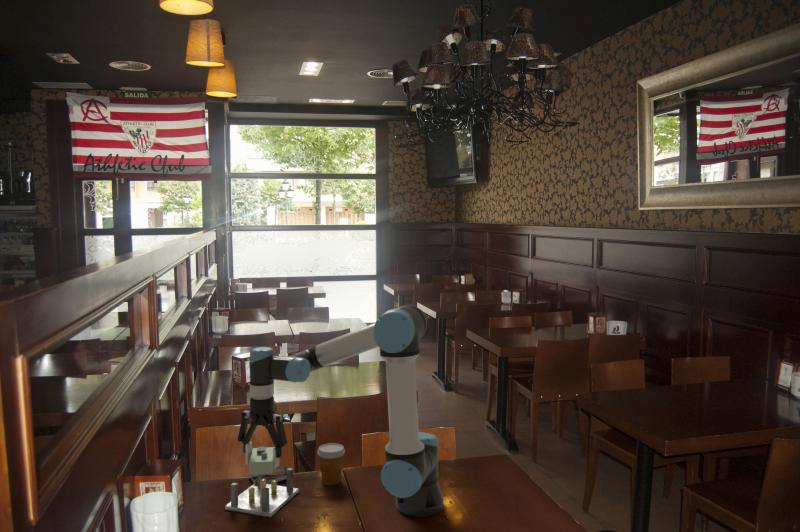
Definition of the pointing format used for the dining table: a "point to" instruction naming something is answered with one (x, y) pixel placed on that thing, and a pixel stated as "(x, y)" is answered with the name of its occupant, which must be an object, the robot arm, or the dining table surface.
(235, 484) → the chassis
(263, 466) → the board
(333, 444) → the disposable coffee cup
